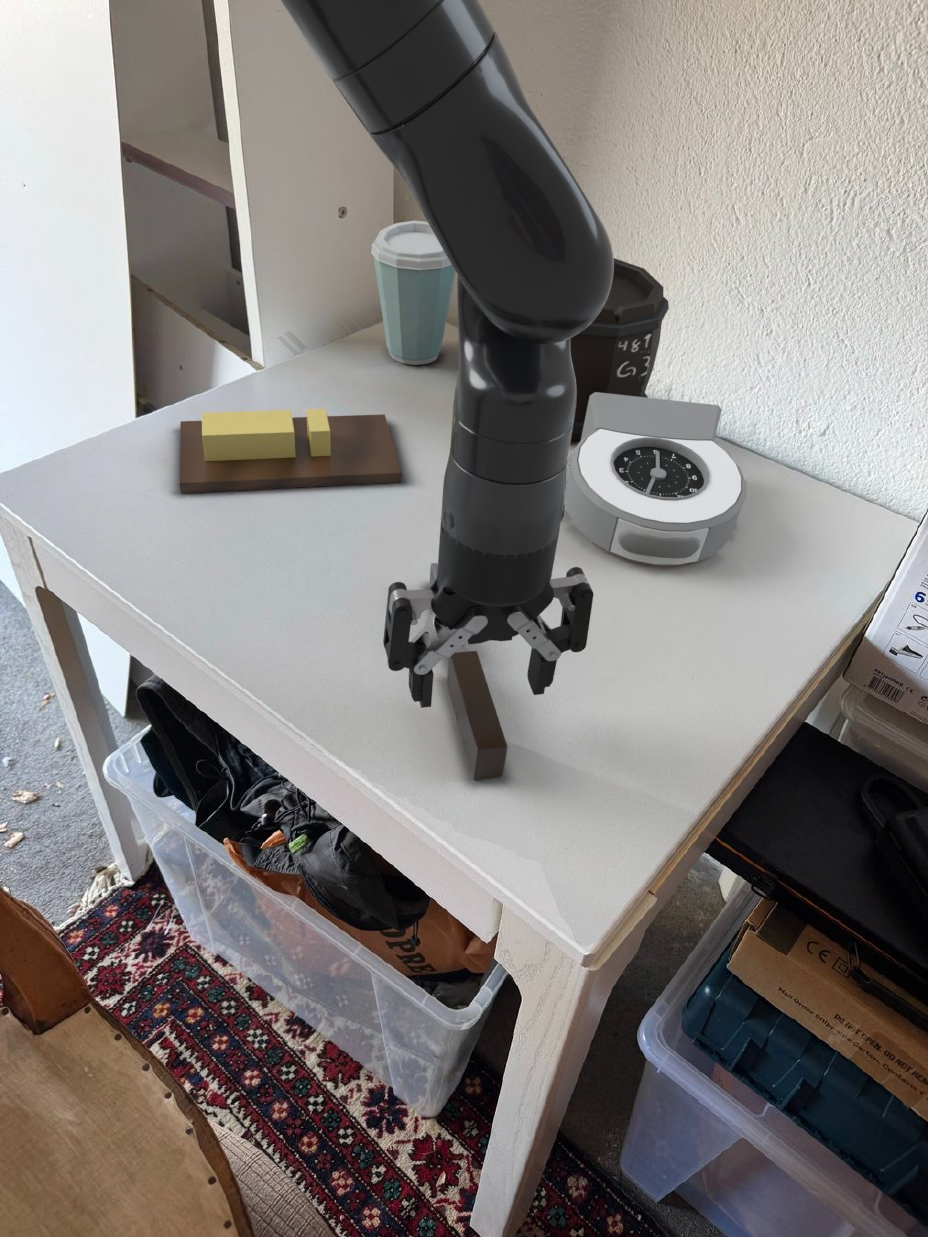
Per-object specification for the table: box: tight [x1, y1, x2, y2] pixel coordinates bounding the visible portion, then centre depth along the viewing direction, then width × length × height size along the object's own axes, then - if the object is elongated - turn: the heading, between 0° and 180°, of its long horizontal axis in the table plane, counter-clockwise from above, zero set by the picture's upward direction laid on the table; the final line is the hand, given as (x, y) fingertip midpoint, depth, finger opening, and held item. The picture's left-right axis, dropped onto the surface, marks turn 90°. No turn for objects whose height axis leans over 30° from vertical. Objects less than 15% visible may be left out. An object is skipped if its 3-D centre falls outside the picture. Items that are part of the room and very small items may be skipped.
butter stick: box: [201, 409, 295, 461], centre depth 95 cm, size 9×4×3 cm, turn 102°
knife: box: [428, 562, 508, 781], centre depth 74 cm, size 22×2×3 cm, turn 12°
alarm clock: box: [564, 392, 747, 567], centre depth 92 cm, size 17×9×19 cm
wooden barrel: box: [570, 257, 670, 444], centre depth 105 cm, size 18×18×16 cm
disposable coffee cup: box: [370, 220, 457, 366], centre depth 113 cm, size 11×11×15 cm
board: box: [178, 413, 403, 494], centre depth 97 cm, size 22×12×1 cm, turn 102°
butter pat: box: [306, 408, 331, 457], centre depth 96 cm, size 2×4×3 cm, turn 12°
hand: (479, 693), depth 69 cm, fingers open, 8 cm apart
